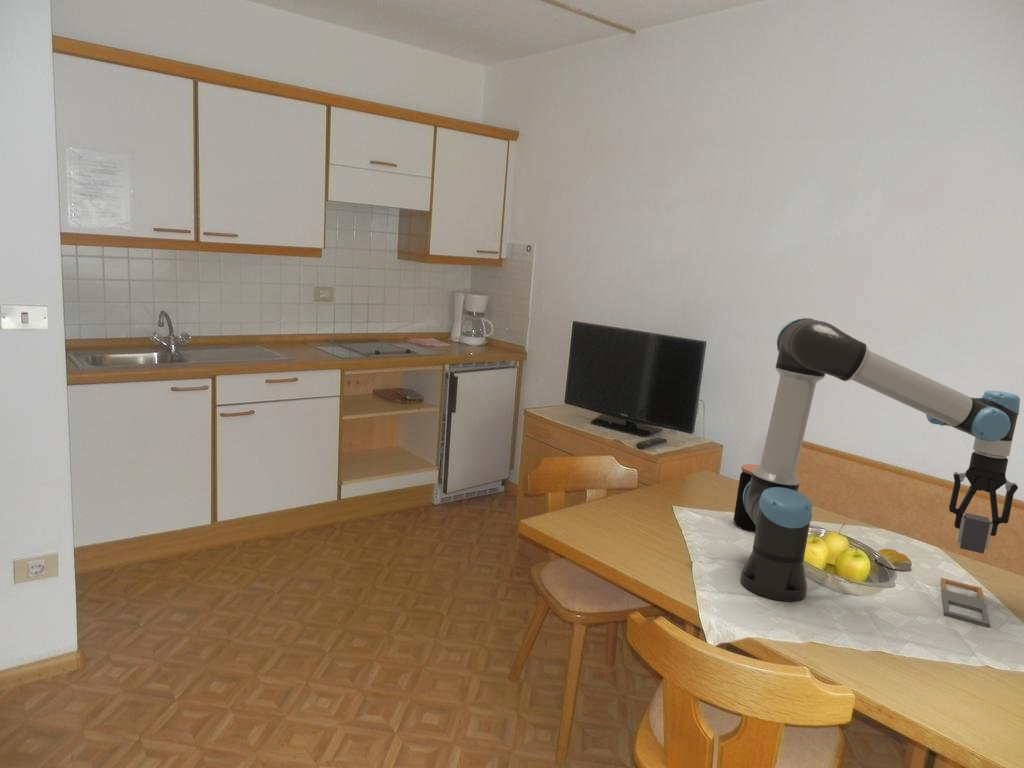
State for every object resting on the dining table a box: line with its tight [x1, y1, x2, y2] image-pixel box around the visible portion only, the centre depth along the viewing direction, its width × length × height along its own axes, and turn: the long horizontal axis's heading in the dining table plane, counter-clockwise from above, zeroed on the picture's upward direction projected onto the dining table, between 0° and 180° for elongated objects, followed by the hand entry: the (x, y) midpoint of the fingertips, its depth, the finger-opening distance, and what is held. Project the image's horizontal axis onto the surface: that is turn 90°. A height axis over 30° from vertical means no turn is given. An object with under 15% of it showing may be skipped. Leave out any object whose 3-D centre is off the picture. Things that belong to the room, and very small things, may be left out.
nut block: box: [958, 512, 991, 554], centre depth 177 cm, size 5×5×8 cm
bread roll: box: [877, 548, 913, 572], centre depth 195 cm, size 8×9×4 cm
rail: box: [940, 577, 991, 628], centre depth 174 cm, size 24×9×1 cm, turn 151°
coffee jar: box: [733, 463, 761, 532], centre depth 214 cm, size 11×11×18 cm
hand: (971, 543), depth 178 cm, fingers closed on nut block, 5 cm apart
